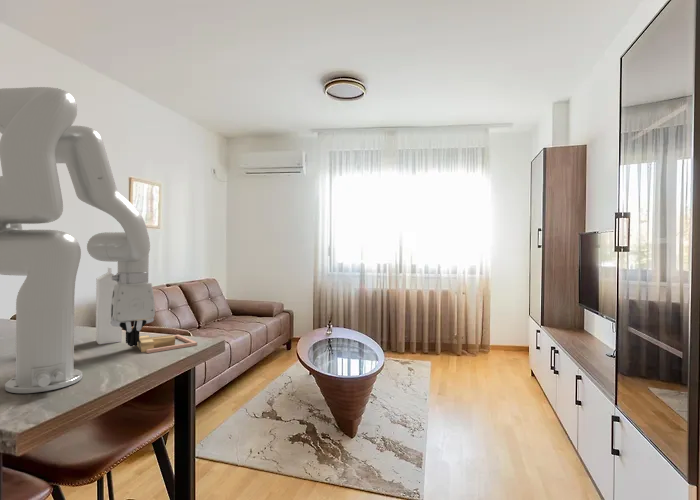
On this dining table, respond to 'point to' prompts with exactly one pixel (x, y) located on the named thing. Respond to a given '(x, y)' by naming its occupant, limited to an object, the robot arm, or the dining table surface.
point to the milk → (105, 310)
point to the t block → (155, 342)
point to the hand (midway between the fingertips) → (132, 345)
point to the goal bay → (189, 343)
